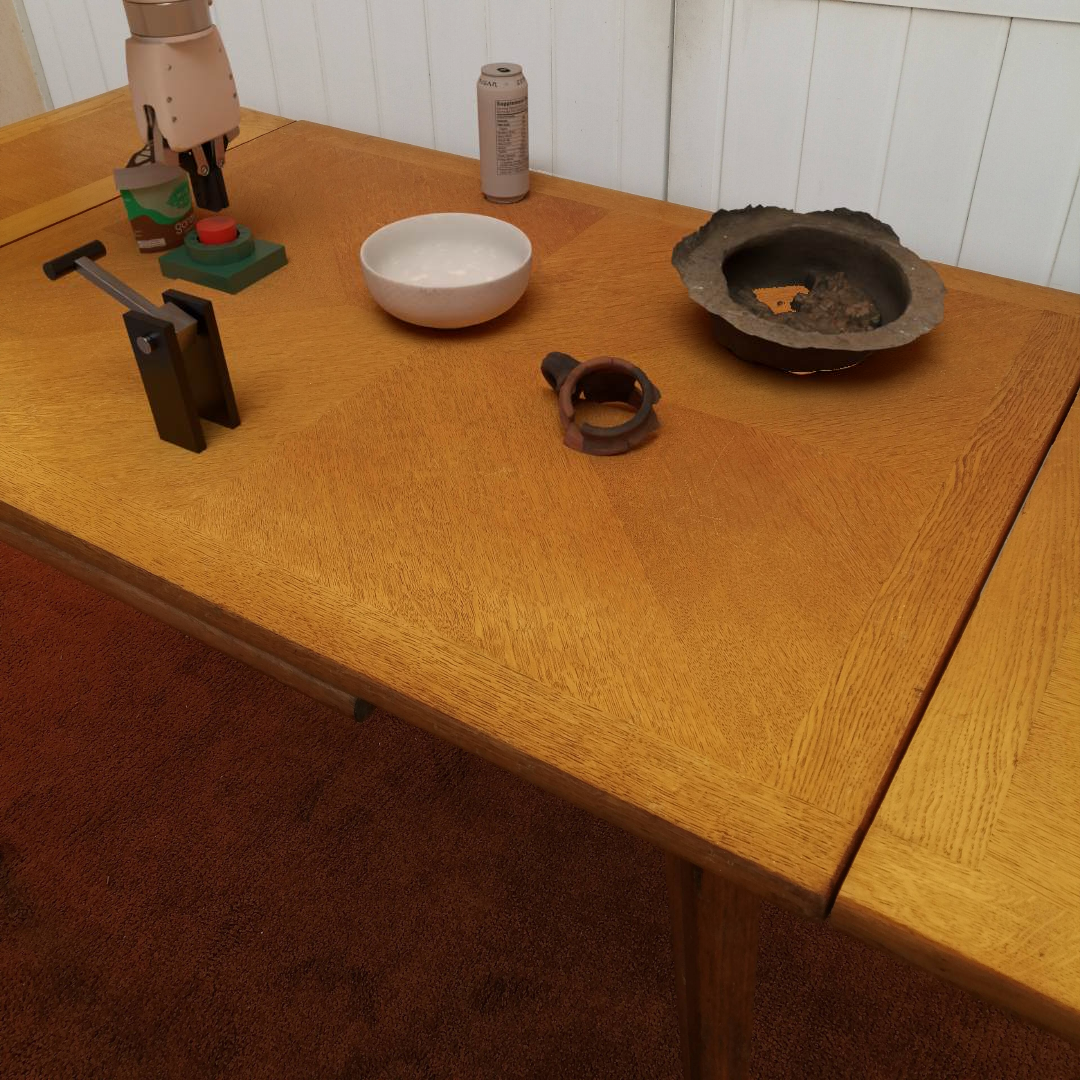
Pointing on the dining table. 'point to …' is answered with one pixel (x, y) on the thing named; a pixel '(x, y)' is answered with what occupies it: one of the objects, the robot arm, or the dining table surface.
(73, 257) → the lever
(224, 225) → the button
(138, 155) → the food container
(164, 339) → the bracket
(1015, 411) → the dining table surface
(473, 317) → the cereal bowl
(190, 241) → the button box
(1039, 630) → the dining table surface
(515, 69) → the energy drink can
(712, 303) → the stone bowl
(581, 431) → the pottery mug
